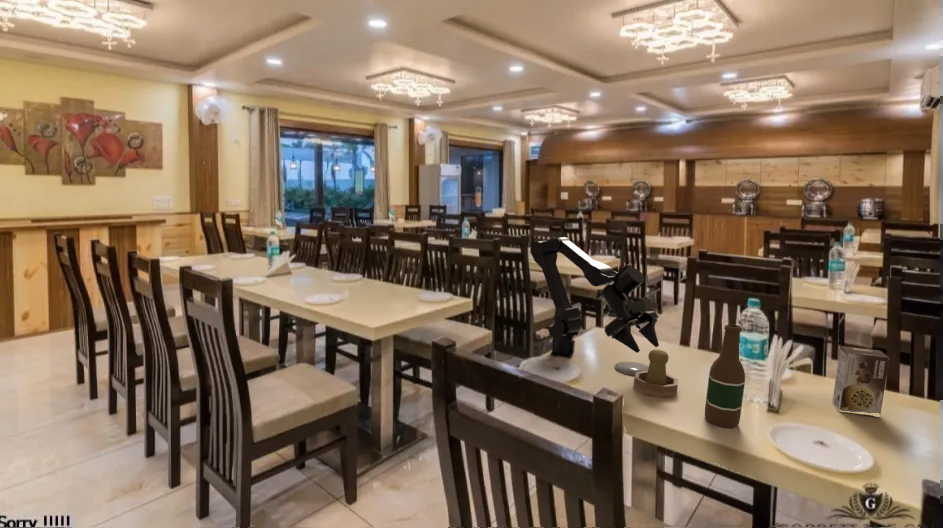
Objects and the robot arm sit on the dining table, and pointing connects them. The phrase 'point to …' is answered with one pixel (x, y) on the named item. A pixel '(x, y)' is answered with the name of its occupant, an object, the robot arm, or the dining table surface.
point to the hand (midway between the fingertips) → (648, 349)
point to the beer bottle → (726, 382)
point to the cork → (657, 367)
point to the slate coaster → (630, 367)
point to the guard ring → (655, 386)
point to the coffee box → (860, 380)
